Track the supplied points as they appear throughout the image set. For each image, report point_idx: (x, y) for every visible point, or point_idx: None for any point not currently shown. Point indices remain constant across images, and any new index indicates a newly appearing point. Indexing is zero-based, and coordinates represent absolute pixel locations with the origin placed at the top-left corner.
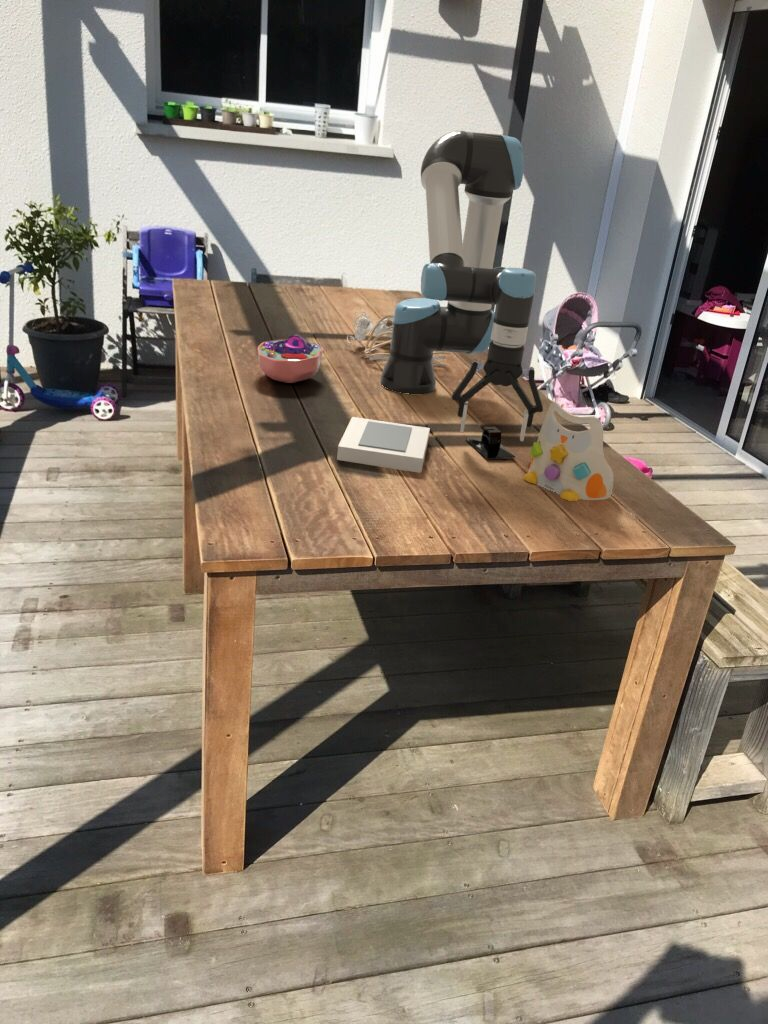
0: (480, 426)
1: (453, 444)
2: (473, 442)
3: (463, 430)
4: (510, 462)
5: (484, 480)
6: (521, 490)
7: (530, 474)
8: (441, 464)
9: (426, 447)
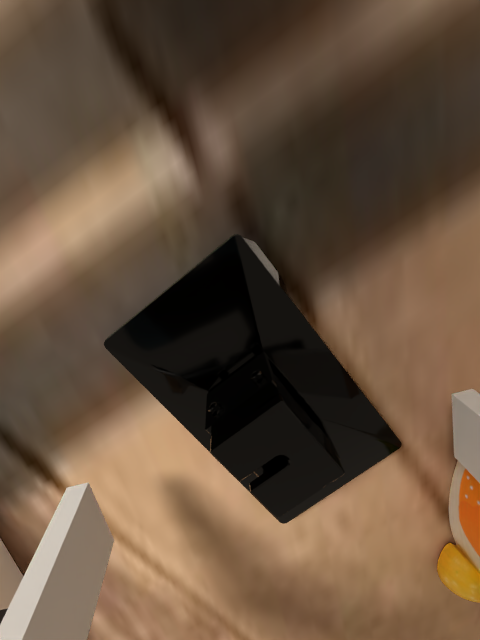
0: (92, 8)
1: (75, 418)
2: (167, 395)
3: (108, 553)
4: None
5: (303, 627)
6: (429, 620)
7: (475, 599)
8: (123, 611)
9: (6, 602)
